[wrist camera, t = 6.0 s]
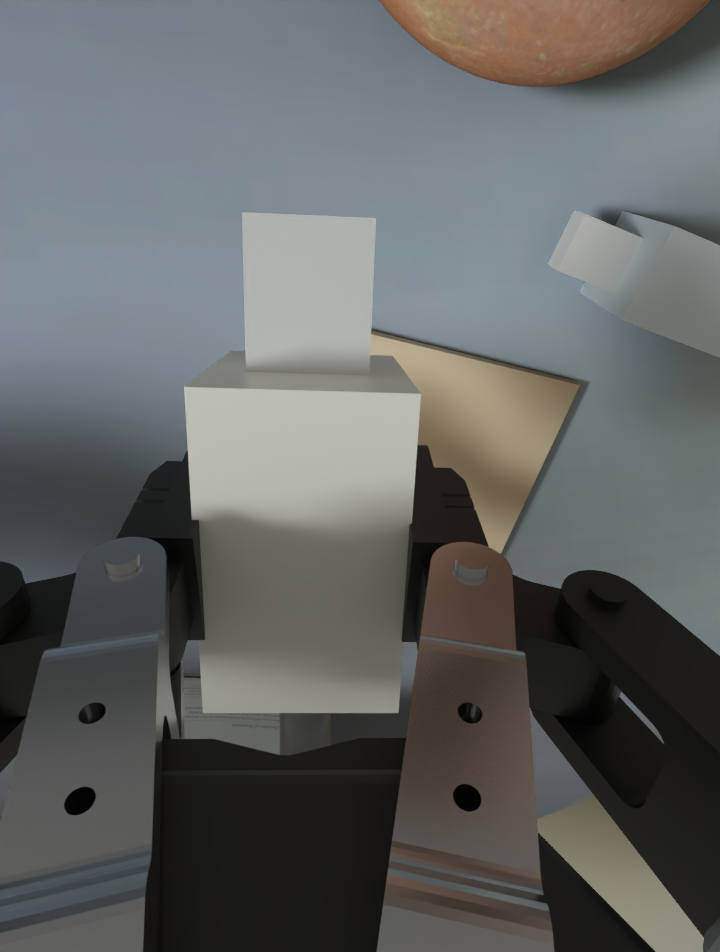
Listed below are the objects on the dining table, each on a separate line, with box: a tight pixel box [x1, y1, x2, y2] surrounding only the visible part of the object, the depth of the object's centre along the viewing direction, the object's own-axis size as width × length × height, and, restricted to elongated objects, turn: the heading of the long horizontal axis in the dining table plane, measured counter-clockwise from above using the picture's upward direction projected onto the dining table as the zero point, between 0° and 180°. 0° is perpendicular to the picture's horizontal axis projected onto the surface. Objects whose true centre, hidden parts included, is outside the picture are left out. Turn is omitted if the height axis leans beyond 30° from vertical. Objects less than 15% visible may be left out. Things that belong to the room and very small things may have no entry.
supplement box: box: [184, 678, 280, 755], centre depth 35 cm, size 7×7×13 cm
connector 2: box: [548, 210, 720, 358], centre depth 25 cm, size 12×4×4 cm, turn 70°
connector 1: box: [184, 212, 421, 755], centre depth 12 cm, size 12×4×4 cm, turn 178°
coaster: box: [370, 331, 580, 554], centre depth 30 cm, size 11×11×1 cm
